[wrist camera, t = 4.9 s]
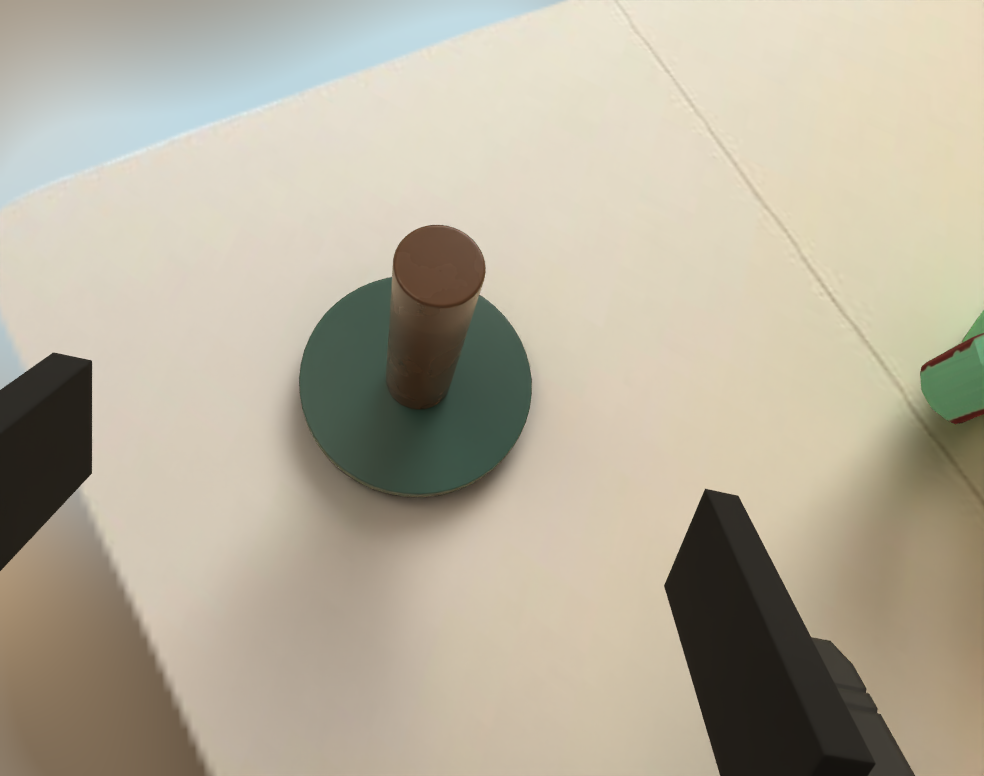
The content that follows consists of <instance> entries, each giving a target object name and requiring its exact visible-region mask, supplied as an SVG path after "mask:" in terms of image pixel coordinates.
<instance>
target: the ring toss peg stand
mask: <svg viewBox="0 0 984 776" xmlns="http://www.w3.org/2000/svg"><path fill="white" fill-rule="evenodd" d="M485 269H486V267H485V261H484V257H483V255H482V252H481V250H480V249H479V247H478V246H477V244H476V243H475V242H474V241H473V240H472V239H471V238H470V237H469V236H468V235H466V234H465V233H463V232H462V231H460V230H458V229H455V228H452V227H449V226H444V225H430V226H425V227H421V228H419V229H416V230H415V231H413V232H411V233H410V234H408V235H407V236H406V237H405V238H404V239H403V240H402V241H401V242H400V244H399V245H398V247H397V249H396V251H395V254H394V258H393V271H392V277H391V278H386V279H382V280H378V281H375V282H372V283H370V284H367V285H365V286H362V287H360V288H358V289H357V290H355V291H353V292H351V293H350V294H348V295H346V296H345V297H344V298H342V299H341V300H340V301H338V302H337V303H336V304H335V305H334V306H333V307H332V308H331V309H330V310H329V311H328V312H327V313H326V314H325V315H324V316H323V318H322V319H321V320H320V322H319V323H318V324H317V326H316V327H315V329H314V331H313V332H312V334H311V336H310V338H309V340H308V343H307V345H306V348H305V350H304V354H303V358H302V362H301V367H300V377H299V386H300V398H301V403H302V409H303V412H304V415H305V418H306V421H307V424H308V427H309V429H310V431H311V433H312V435H313V437H314V439H315V441H316V442H317V444H318V445H319V447H320V448H321V450H322V451H323V453H324V454H325V455H326V456H327V457H328V458H329V459H330V460H331V461H332V462H333V464H334V465H336V466H337V467H338V468H339V469H340V470H342V471H343V472H344V473H345V474H347V475H348V476H350V477H351V478H353V479H354V480H356V481H358V482H359V483H361V484H363V485H366V486H368V487H370V488H372V489H375V490H378V491H381V492H384V493H388V494H393V495H398V496H404V497H427V496H437V495H441V494H446V493H450V492H453V491H456V490H459V489H461V488H464V487H466V486H468V485H470V484H472V483H474V482H476V481H478V480H479V479H481V478H482V477H483V476H485V475H486V474H488V473H489V472H491V471H492V470H493V469H494V468H495V467H496V466H497V465H498V464H499V463H500V462H501V461H502V460H503V459H504V457H505V456H506V455H507V454H508V453H509V451H510V450H511V449H512V447H513V446H514V444H515V443H516V441H517V439H518V438H519V436H520V434H521V432H522V429H523V427H524V425H525V423H526V419H527V416H528V412H529V409H530V402H531V394H532V380H531V373H530V366H529V362H528V359H527V355H526V352H525V350H524V347H523V345H522V342H521V340H520V338H519V337H518V335H517V333H516V331H515V330H514V328H513V327H512V325H511V324H510V323H509V321H508V320H507V319H506V318H505V316H504V315H503V314H502V313H501V312H500V311H499V310H498V309H497V308H496V307H495V306H494V305H492V304H491V303H490V302H489V301H487V300H486V299H485V298H484V297H482V296H480V295H479V294H480V291H481V288H482V285H483V281H484V278H485Z"/></svg>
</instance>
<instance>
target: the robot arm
mask: <svg viewBox="0 0 984 776" xmlns="http://www.w3.org/2000/svg"><path fill="white" fill-rule="evenodd" d="M91 474H92V361H91V360H87V359H82V358H77V357H72V356H68V355H63V354H58V353H52V354H51V355H49V356H48V357H46V358H45V359H44V360H42V361H41V362H39V363H38V364H36V365H35V366H34V367H32V368H31V369H29V370H28V371H27V372H25V373H24V374H22V375H21V376H19V377H18V378H17V379H15V380H14V381H12V382H11V383H10V384H8V385H7V386H5V387H4V388H2V389H1V390H0V571H1V570H2V569H3V568H4V567H5V565H6V564H7V563H8V562H9V561H10V560H11V559H12V558H13V557H14V556H15V555H16V554H17V553H18V552H19V550H21V548H22V547H23V546H24V545H25V544H26V543H27V542H28V541H29V540H30V539H31V538H32V537H33V536H34V535H35V533H36V532H37V531H38V530H39V529H40V528H41V527H42V526H43V525H44V524H45V523H46V522H47V521H48V520H49V519H50V517H51V516H52V515H53V514H54V513H55V512H56V511H57V510H58V509H59V508H60V507H61V506H62V505H63V504H64V503H65V501H66V500H67V499H68V498H69V497H70V496H71V495H72V494H73V493H74V492H75V491H76V490H77V489H78V488H79V487H80V485H81V484H82V483H83V482H84V481H85V480H86V479H87V478H88V477H89V476H90V475H91ZM664 587H665V590H666V593H667V597H668V600H669V604H670V607H671V610H672V614H673V617H674V621H675V624H676V627H677V631H678V634H679V637H680V641H681V644H682V648H683V651H684V654H685V658H686V661H687V665H688V668H689V671H690V675H691V678H692V681H693V685H694V688H695V692H696V695H697V698H698V702H699V705H700V709H701V712H702V715H703V719H704V722H705V725H706V729H707V732H708V736H709V739H710V742H711V746H712V749H713V753H714V756H715V759H716V763H717V766H718V770H719V773H720V776H915V775H914V773H913V771H912V770H911V768H910V766H909V764H908V762H907V761H906V759H905V757H904V755H903V753H902V752H901V750H900V748H899V746H898V745H897V743H896V741H895V739H894V737H893V736H892V734H891V732H890V730H889V728H888V727H887V725H886V723H885V721H884V719H883V718H882V716H881V714H878V713H877V707H876V705H875V703H874V702H873V700H872V698H871V696H870V694H868V693H866V687H865V685H864V684H863V682H862V680H861V678H860V676H859V675H858V673H857V671H856V669H855V668H854V666H853V664H852V663H851V662H850V661H849V660H848V659H847V658H846V657H845V656H844V655H843V654H842V653H841V652H840V651H839V650H838V648H837V647H836V646H835V645H834V644H833V643H832V642H831V641H827V640H822V639H817V638H812V637H811V636H810V634H809V632H808V630H807V628H806V627H805V625H804V623H803V621H802V619H801V617H800V615H799V613H798V611H797V609H796V607H795V605H794V603H793V601H792V599H791V597H790V595H789V593H788V592H787V590H786V588H785V586H784V584H783V582H782V580H781V578H780V576H779V574H778V572H777V570H776V568H775V566H774V564H773V562H772V560H771V558H770V557H769V555H768V553H767V551H766V549H765V547H764V545H763V543H762V541H761V539H760V537H759V535H758V533H757V531H756V529H755V527H754V525H753V523H752V522H751V520H750V518H749V516H748V514H747V512H746V510H745V508H744V506H743V504H742V502H741V500H740V498H739V496H737V495H732V494H727V493H722V492H717V491H713V490H708V489H705V491H704V493H703V495H702V498H701V500H700V502H699V505H698V507H697V509H696V512H695V514H694V517H693V519H692V521H691V524H690V526H689V528H688V531H687V533H686V535H685V538H684V540H683V543H682V545H681V547H680V550H679V552H678V554H677V557H676V559H675V561H674V564H673V566H672V569H671V571H670V573H669V576H668V578H667V580H666V583H665V585H664Z"/></svg>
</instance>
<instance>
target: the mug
mask: <svg viewBox="0 0 984 776" xmlns="http://www.w3.org/2000/svg"><path fill="white" fill-rule="evenodd" d="M920 376H921V389H922V392H923V394H924V396H925V398H926V400H927V402H928V403H929V405H930V406H931V408H932V409H933V410H934V411H935V412H937V413H938V414H939V415H941V416H942V417H943V418H945V419H946V420H947V421H949V422H951V423H954V424H958V423H963V422H966V421H968V420H970V419H973V418H975V417H978V416H981V415H984V310H983V312H982V313H981V315H980V316H979V317H978V319H977V320H976V322H975V323H974V324H973V326H972V327H971V329H970V330H969V332H968V333H967V335H966V336H965V338H964V339H963V341H962V343H961V344H959V345H957V346H955V347H954V348H952V349H950V350H948V351H946V352H945V353H943V354H941V355H939V356H937V357H936V358H934V359H932V360H930V361H928V362H927V363H925V364H924V365H923V366H922V368H921V372H920Z"/></svg>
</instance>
